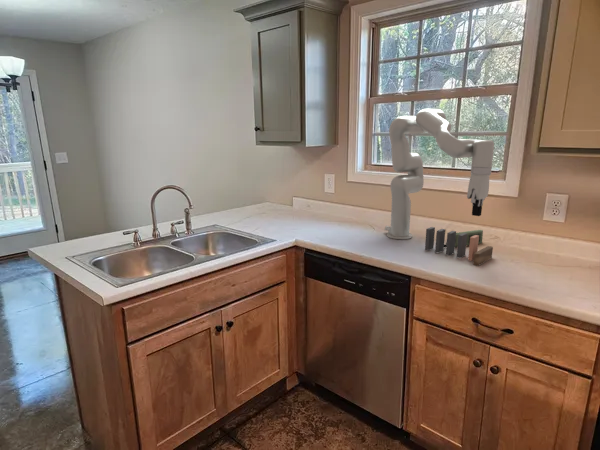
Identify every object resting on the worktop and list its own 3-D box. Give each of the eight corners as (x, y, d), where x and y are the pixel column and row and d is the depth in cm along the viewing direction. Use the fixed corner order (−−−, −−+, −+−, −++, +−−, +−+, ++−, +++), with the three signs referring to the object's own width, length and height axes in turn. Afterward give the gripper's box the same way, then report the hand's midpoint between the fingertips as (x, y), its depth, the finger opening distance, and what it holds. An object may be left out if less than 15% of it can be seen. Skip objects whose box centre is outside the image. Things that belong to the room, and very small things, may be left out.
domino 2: (435, 252, 177) (436, 230, 174) (440, 249, 180) (442, 228, 178) (438, 253, 176) (440, 231, 173) (443, 250, 179) (445, 229, 176)
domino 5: (468, 259, 166) (470, 237, 164) (472, 257, 169) (475, 235, 167) (471, 260, 165) (474, 238, 163) (476, 258, 168) (479, 235, 166)
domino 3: (445, 254, 173) (447, 232, 171) (450, 252, 176) (452, 230, 174) (449, 255, 172) (450, 233, 170) (454, 253, 175) (456, 231, 173)
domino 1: (424, 249, 180) (426, 228, 178) (430, 247, 183) (431, 226, 181) (428, 250, 179) (429, 229, 177) (433, 248, 182) (435, 227, 180)
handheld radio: (483, 244, 189) (442, 250, 180) (477, 242, 192) (437, 248, 183) (484, 230, 188) (442, 236, 179) (478, 229, 191) (437, 234, 182)
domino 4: (456, 257, 170) (458, 235, 167) (461, 254, 173) (463, 232, 171) (460, 258, 168) (462, 235, 166) (465, 255, 172) (467, 233, 169)
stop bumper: (473, 264, 160) (474, 253, 159) (486, 256, 170) (488, 245, 168) (478, 265, 159) (479, 254, 158) (491, 258, 168) (492, 246, 167)
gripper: (479, 169, 166) (475, 211, 170) (463, 171, 156) (459, 216, 160) (497, 170, 161) (492, 214, 165) (482, 173, 151) (477, 219, 155)
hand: (476, 215), depth 163 cm, fingers closed
